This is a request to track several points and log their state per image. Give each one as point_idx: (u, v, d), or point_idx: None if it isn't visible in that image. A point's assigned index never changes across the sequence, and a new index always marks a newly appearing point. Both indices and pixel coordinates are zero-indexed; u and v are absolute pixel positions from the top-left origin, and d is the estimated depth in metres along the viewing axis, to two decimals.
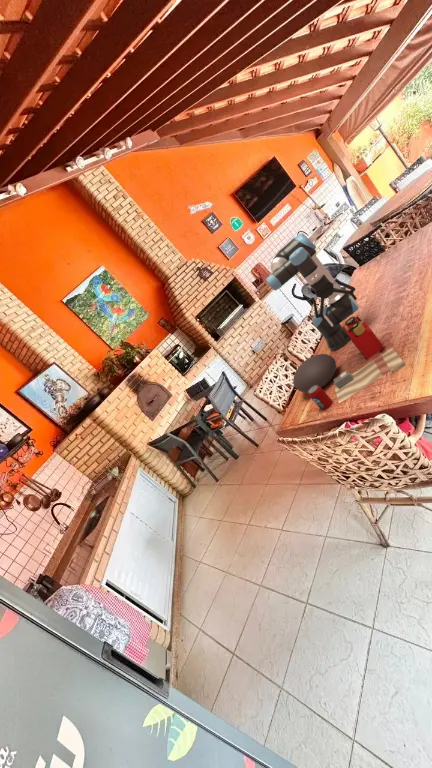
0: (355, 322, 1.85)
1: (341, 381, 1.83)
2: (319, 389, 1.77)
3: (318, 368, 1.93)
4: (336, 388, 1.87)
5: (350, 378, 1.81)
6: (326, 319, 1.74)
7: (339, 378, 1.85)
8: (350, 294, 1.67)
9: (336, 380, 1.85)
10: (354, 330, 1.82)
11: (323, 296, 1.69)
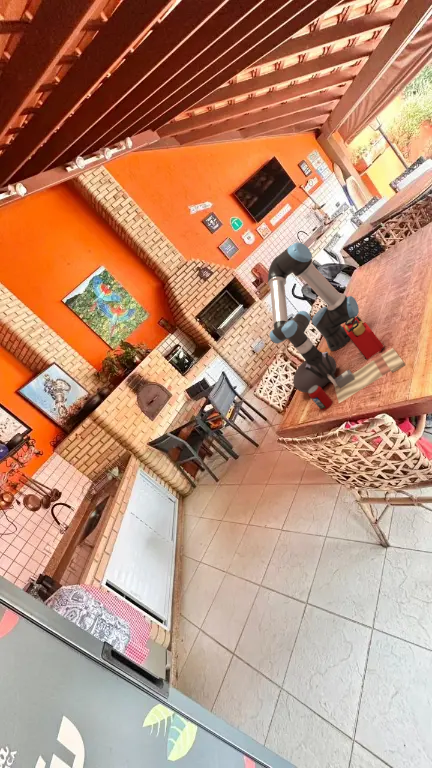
0: (355, 322, 1.85)
1: (342, 380, 1.82)
2: (319, 389, 1.77)
3: None
4: (336, 388, 1.87)
5: (351, 377, 1.81)
6: (330, 380, 1.85)
7: (340, 377, 1.84)
8: (329, 373, 1.83)
9: (337, 379, 1.85)
10: (354, 330, 1.82)
11: (314, 363, 1.82)
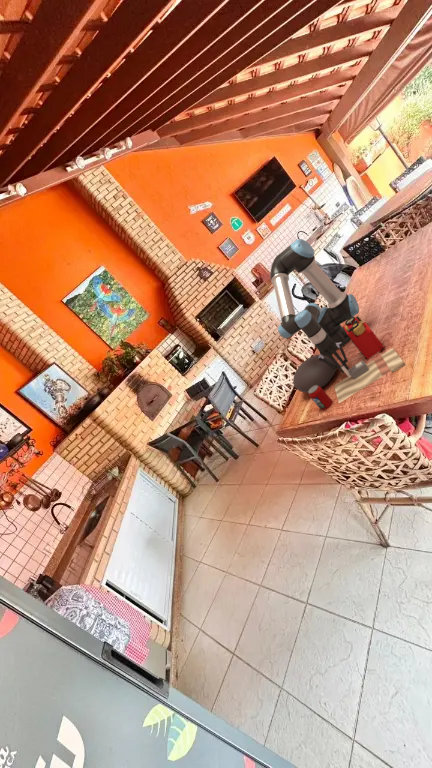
0: (355, 322, 1.85)
1: (356, 371, 1.79)
2: (319, 389, 1.77)
3: (318, 368, 1.93)
4: (336, 388, 1.87)
5: (366, 368, 1.78)
6: (343, 371, 1.82)
7: (354, 368, 1.81)
8: (342, 364, 1.80)
9: (351, 370, 1.82)
10: (354, 330, 1.82)
11: (328, 354, 1.79)
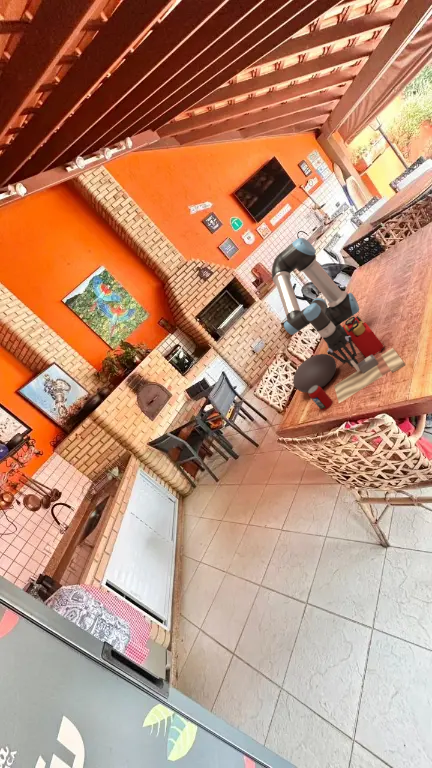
0: (355, 322, 1.85)
1: (365, 365, 1.77)
2: (319, 389, 1.77)
3: (318, 368, 1.93)
4: (336, 388, 1.87)
5: (375, 362, 1.76)
6: (353, 365, 1.80)
7: (363, 362, 1.79)
8: (351, 358, 1.78)
9: (360, 364, 1.80)
10: (354, 330, 1.82)
11: (337, 347, 1.77)
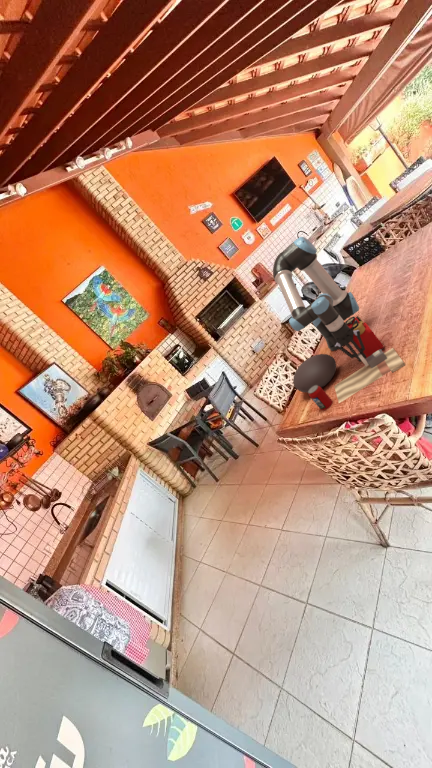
0: (355, 322, 1.85)
1: (374, 360, 1.76)
2: (319, 389, 1.77)
3: (318, 368, 1.93)
4: (336, 388, 1.87)
5: (384, 357, 1.74)
6: (361, 359, 1.78)
7: (372, 357, 1.77)
8: (359, 353, 1.77)
9: (368, 359, 1.78)
10: (354, 330, 1.82)
11: (345, 342, 1.75)
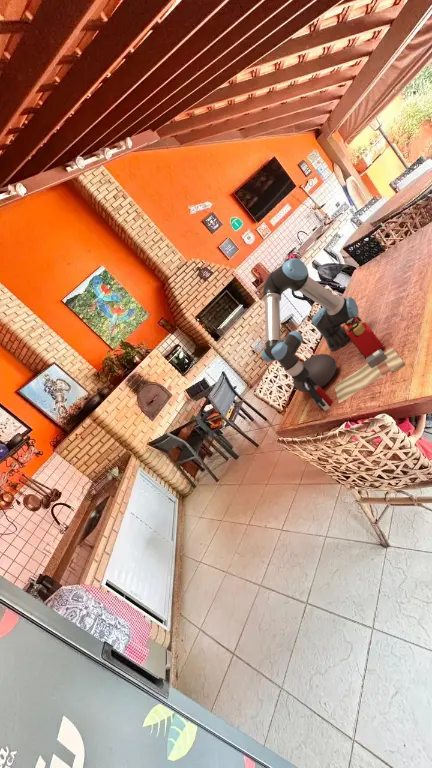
0: (355, 322, 1.85)
1: (374, 360, 1.76)
2: (319, 389, 1.77)
3: (318, 368, 1.93)
4: (336, 388, 1.87)
5: (384, 357, 1.74)
6: None
7: (372, 357, 1.77)
8: None
9: (368, 359, 1.78)
10: (354, 330, 1.82)
11: None
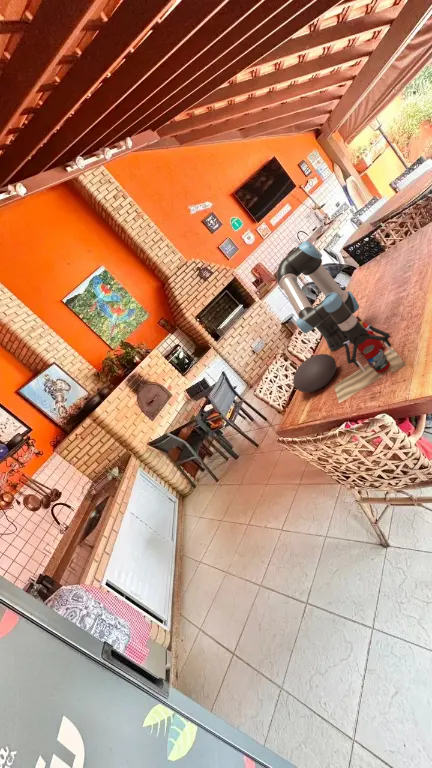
0: None
1: None
2: None
3: (318, 368, 1.93)
4: (336, 388, 1.87)
5: None
6: (359, 365, 1.69)
7: None
8: (385, 341, 1.63)
9: None
10: None
11: (357, 342, 1.65)
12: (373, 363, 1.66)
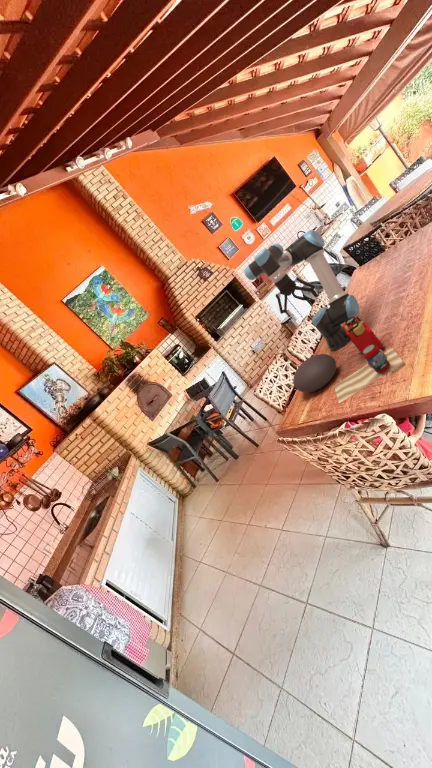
0: (355, 322, 1.85)
1: None
2: None
3: (318, 368, 1.93)
4: (336, 388, 1.87)
5: None
6: (290, 314, 1.89)
7: None
8: (310, 291, 1.83)
9: None
10: (354, 330, 1.82)
11: (286, 293, 1.85)
12: (373, 363, 1.66)
